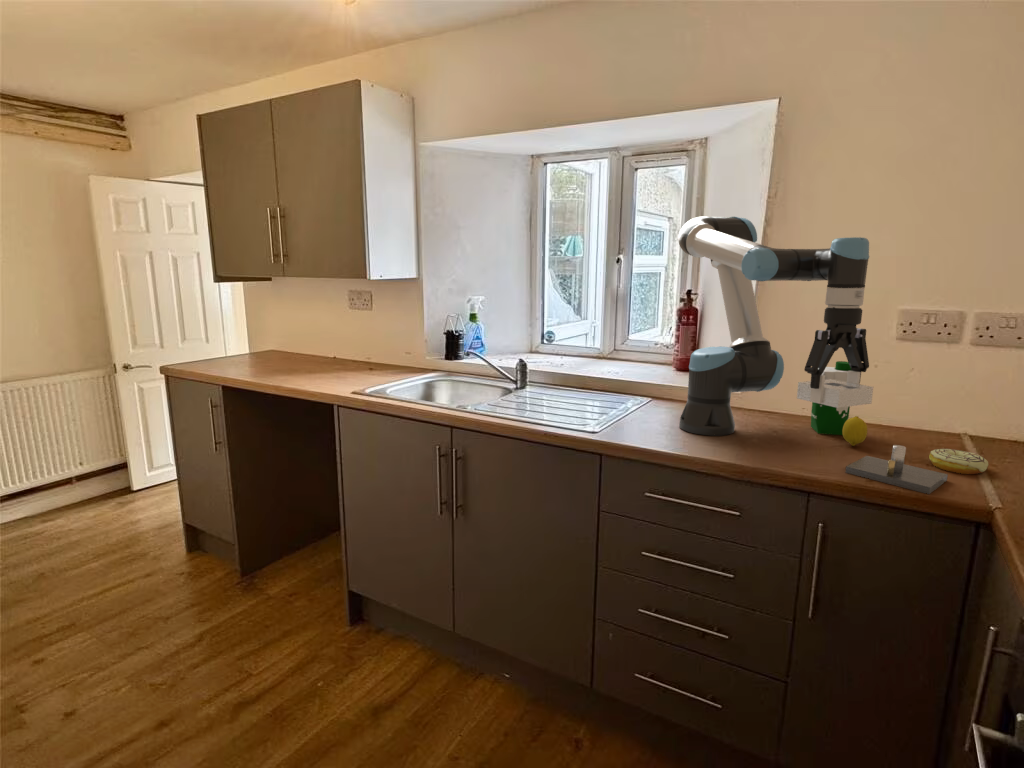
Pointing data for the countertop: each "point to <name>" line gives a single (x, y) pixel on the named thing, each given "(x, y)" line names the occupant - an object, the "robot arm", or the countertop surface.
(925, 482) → the fixture
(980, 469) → the decorated donut
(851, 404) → the white boxy piece
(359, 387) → the countertop surface
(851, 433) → the lemon
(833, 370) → the milk carton
